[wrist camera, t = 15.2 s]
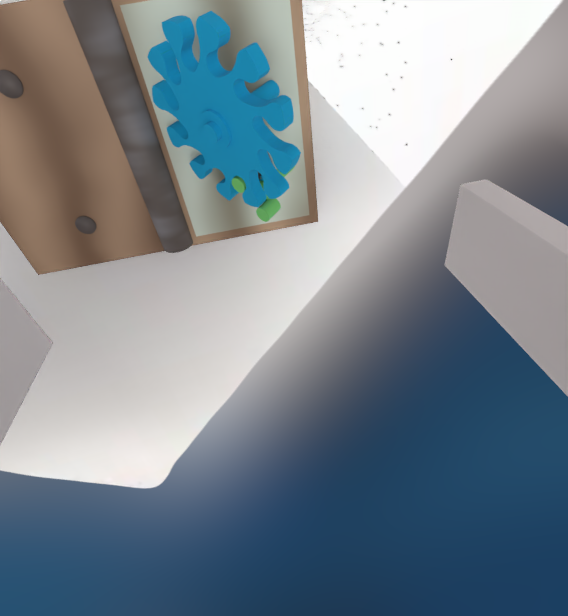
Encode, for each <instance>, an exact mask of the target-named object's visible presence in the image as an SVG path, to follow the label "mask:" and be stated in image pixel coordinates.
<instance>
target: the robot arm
mask: <svg viewBox="0 0 568 616" xmlns="http://www.w3.org/2000/svg"><path fill="white" fill-rule="evenodd" d="M445 266H446V267H447V268H448V269H449V270H450V272H452V274H453V275H454V276H455V277H456V278H457V279H458V280H459V281H460V282H461V283H462V284H463V285H464V286H465V287H466V289H467V290H468V291H469V292H470V293H471V294H472V295H473V296H474V297H475V298H476V299H477V300H478V301H479V302H480V303H481V304H482V305H483V306H484V308H485V309H486V310H487V311H488V312H489V313H490V314H491V315H492V316H493V317H494V318H495V319H496V320H497V321H498V323H499V324H500V325H501V326H502V327H503V328H504V329H505V330H506V331H507V332H508V333H509V334H510V335H511V336H512V337H513V339H514V340H516V342H517V343H518V344H519V345H520V346H521V347H522V348H523V349H524V350H525V351H526V352H527V353H528V354H529V356H531V358H532V359H533V360H534V361H535V362H536V363H537V364H538V365H539V366H540V367H541V368H542V369H543V370H544V371H545V373H546V374H547V375H548V376H549V377H550V378H551V379H552V380H553V381H554V382H555V383H556V384H557V385H558V386H559V387H560V388H561V390H562V391H563V392H564V393H565V394H566V395H567V396H568V226H566V225H564V224H563V223H561V222H559V221H558V220H556V219H554V218H552V217H550V216H549V215H547V214H545V213H544V212H542V211H540V210H539V209H537V208H535V207H533V206H532V205H530V204H528V203H527V202H525V201H523V200H521V199H520V198H518V197H516V196H514V195H513V194H511V193H509V192H508V191H506V190H504V189H502V188H501V187H499V186H497V185H496V184H494V183H492V182H490V181H489V180H481V181H475V182H470V183H465V184H461V185H460V190H459V195H458V200H457V206H456V210H455V215H454V220H453V225H452V230H451V236H450V240H449V245H448V251H447V256H446V261H445ZM51 345H52V341H51V340H50V339H49V338H48V336H47V335H46V334H45V333H44V332H43V330H42V329H41V328H40V327H39V325H38V324H37V323H36V322H35V320H34V319H33V318H32V317H31V315H30V314H29V313H28V312H27V311H26V309H25V308H24V307H23V306H22V304H21V303H20V302H19V301H18V299H17V298H16V297H15V296H14V294H13V293H12V292H11V291H10V289H9V288H8V287H7V286H6V285H5V283H4V282H3V281H2V280H1V278H0V445H1V443H2V441H3V439H4V437H5V435H6V433H7V431H8V429H9V427H10V425H11V423H12V421H13V420H14V418H15V416H16V414H17V412H18V410H19V408H20V406H21V404H22V402H23V400H24V398H25V396H26V394H27V392H28V390H29V388H30V386H31V384H32V382H33V380H34V378H35V377H36V375H37V373H38V371H39V369H40V367H41V365H42V363H43V361H44V359H45V357H46V355H47V353H48V351H49V349H50V347H51Z"/></svg>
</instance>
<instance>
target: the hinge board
mask: <svg viewBox="0 0 568 616" xmlns="http://www.w3.org/2000/svg"><path fill="white" fill-rule="evenodd" d="M209 11H212V12H214V13H215V14H217V15H218V16H220V17H221V18H222V19H223V20H224V21H225V22H226V23H227V24H228V26H229V27H230V34H231V35H230V40H229V42H228V43H227V44H225V45H224V46H222V47H220V48H219V49H218V59H219V62H220V64H221V66H222V67H223V68H224V69H225V70H227V71H231V70H232V69H233V67H234V65H235V62H236V57H237V54H238V52H239V51H240V50H242V49H243V48H245V47H247V46H248V45H250V44H252V43H258V45H259V46H260V48H261V49H262V51H263V53H264V55H265V57H266V59H267V61H268V64H269V67H270V70H269V72H268V74H267V75H265V76H264V77H262V78H261V79H259V80H258V81H256V82H255V83H249V82H246V81H244V82H245V86H246V88H247V90H248V91H249V92H250V93H251V92H253V91H254V90H256V89H257V88H259V87H260V86H262V85H263V84H265V83H266V82H267V81H269V80H274V81H275V82H276V83H277V84H278V86H279V89H280V93H279V96H280V95H286V96H288V97H289V98H291V101H292V106H293V112H294V119H293V123H292V124H291V125H289V126H288V127H287V128H286V129H285V130H283V131H276V130H274V129H273V128H272V127H271V126H270V125H269V124H268V123H267V121H266V120H265V119H264V118H263V117H262V118H263V121H264V123H265V124H266V126H267V127H268V128H269V129H270V130H271V132H272V133H273V134H274V135H275V136H277V137H278V138H279V139H281V140H282V141H284V142H287V143H290V144H293V145H295V146H296V147H297V148H298V149H299V150H300V152H301V154H300V158H299V160H298V162H297V164H296V165H295V168H294V169H293V170H292V171H291V172H289V173H288V174H287V175H286V176H285V177H284V178H285V179H286V180H287V182H288V184H289V189H288V190H287V191H286V192H285V193H284V194H282V195H281V196H280V197H278V198H276V199H277V200H278V201H279V203H280V205H281V208H280V210H279V211H278V212H277V213H276V214H275V215H274V216H273V217H272V218H271V219H270V220H269V221H267V222H264V221H262V220H261V219H260V218H259V217H258V216H257V213H256V210H257V208H258V207H253V206H250V205H248V204H246V203H245V202H244V200H243V197H242V195H243V193H238V194H237V195H236V196H235V197H233V198H232V199H231V200H230V201H229V200H227V199H226V198H225V197H223V196H222V195H221V194H220V193H219V192H218V191H217V189H216V185H217V184H218V183H219V182H220V181H222V180H223V179H224V178H225V176H224V174H223V173H222V172H221V171H220V170H219V169H217V168H213V170H212V172H211V173H210V174H209V175H207V176H206V177H205V178H203V179H199V178H198V176H197V175H196V174H195V172H194V171H193V170H192V168H191V166H190V164H189V163H190V161H192V160H193V159H194V158H196V157H197V156H198V155H202V154H201V153H200V152H199V151H198V150H196V149H194V148H193V147H190V146H187V145H183V146H181V147H179V148H178V147H175V146H174V145H173V144H172V142H171V140H170V138H169V135H168V132H167V127H168V126H170V125H171V124H173V123H175V122H176V121H179V120H178V119H177V118H176V117H175V116H173V115H172V114H171V113H169V112H167V111H165V110H162V109H160V108H158V107H157V106H156V105H155V103H154V102H153V96H152V87H153V85H155V84H157V83H158V82H160V81H162V80H165V79H164V78H163V77H162V76H161V74H160V73H158V72H157V71H156V70H155V69H154V68H153V67H152V65H151V64H150V62H149V60H148V57H147V56H148V54H149V51H150V49H151V48H152V47H154V46H156V45H158V44H160V43H162V42H164V41H167V39H166V37H165V35H164V32H163V28H162V22H164V21H166V20H168V19H170V18H172V17H175V16H180V15H183V16H187V17H189V18H190V19H191V21H192V23H193V26H194V30H195V38H194V42H193V45H192V51H193V55H194V57H195V59H196V60H197V62H198V63H199V58H200V45H199V39H198V35H197V31H196V21H197V18H198V17H199V16H201V15H203V14H205V13H207V12H209ZM176 60H177V59H176ZM177 65H178V62H177ZM178 69H179V65H178ZM179 71H180V70H179ZM165 81H166V80H165ZM268 153H269V152H268ZM269 155H270V153H269ZM270 158H271V160H272V163H273V165H274V167H275V168H276V166H275V164H274V162H273V159H272V157H271V155H270ZM276 169H277V168H276ZM261 205H262V204H261ZM261 205H260V206H261ZM260 206H259V207H260ZM0 222H1V223H2V225H3V226H4V227H5V229H6V230H7V232H8V233H9V234H10V236H11V237H12V239H13V240H14V241H15V243H16V244H17V246H18V247H19V248H20V250H21V251H22V253H23V254H24V255H25V257H26V258H27V260H28V261H29V262H30V264H31V265H32V267H33V268H34V269H35V271H36V272H37V274H38V275H40V274H45V273H50V272H56V271H61V270H66V269H71V268H77V267H82V266H87V265H92V264H98V263H103V262H108V261H113V260H119V259H124V258H129V257H134V256H140V255H145V254H150V253H155V252H161V251H166V252H170V253H175V252H180V251H183V250H185V249H187V248H189V247H190V246H192V245H197V244H203V243H208V242H213V241H218V240H224V239H229V238H234V237H239V236H245V235H250V234H255V233H260V232H266V231H271V230H276V229H281V228H287V227H292V226H297V225H302V224H308V223H313V222H318V213H317V200H316V186H315V173H314V159H313V146H312V132H311V119H310V105H309V92H308V78H307V65H306V51H305V38H304V24H303V11H302V0H26V1H20V2H14V3H8V4H2V5H0Z"/></svg>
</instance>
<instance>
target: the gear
mask: <svg viewBox="0 0 568 616" xmlns="http://www.w3.org/2000/svg"><path fill="white" fill-rule="evenodd" d="M162 28H163V32H164V35H165V37H166V39H167V41H164V42H162V43H160V44H158V45H156V46H154V47H152V48H151V49H150V51H149V54H148V56H147V57H148V60H149V62H150V64H151V65H152V67H153V68H154V69H155V70H156V71H157V72H158V73H160V74H161V76H162V77H163V78H164V79H165V80H166V81H165V80H162V81H160V82H158V83H157V84H155V85H153V87H152V96H153V102H154V103H155V105H156V106H157V107H158V108H160V109H162V110H165V111H167V112H169V113H171V114H172V115H173V116H175V117H176V118H177V119H178V120H179V121H176V122H175V123H173V124H171V125H170V126H168V127H167V132H168V135H169V138H170V140H171V142H172V144H173V145H174V146H175V147H178V148H179V147H181V146H183V145H187V146H190V147H193V148H194V149H196V150H198V151H199V152H200V153H201V154H202V155H198V156H197V157H196V158H194V159H193V160H192V161H190V163H189V164H190V166H191V168H192V170H193V171H194V172H195V174H196V175H197V176H198V178H199V179H203V178H205V177H206V176H207V175H209V174H210V173H211V172H212V170H213V168H217V169H219V170H220V171H221V172H222V173H223V174H224V176H225V178H224V179H223V180H222V181H220V182H219V183H218V184H217V185H216V189H217V191H218V192H219V193H220V194H221V195H222V196H223V197H225V198H226V199H227V200H229V201H230V200H231V199H232V198H233V197H235V196H236V195H237V194H238V193H243V195H242V197H243V200H244V202H245V203H246V204H248V205H250V206H253V207H258V208H257V210H256V213H257V216H258V217H259V218H260V219H261V220H262V221H264V222H267V221H269V220H270V219H271V218H272V217H273V216H274V215H275V214H276V213H277V212H278V211H279V210H280V208H281V205H280V203H279V201H278V200H277V199H276V198H278V197H280V196H281V195H282V194H284V193H285V192H286V191H287V190H288V189H289V184H288V182H287V180H286V179H285V178H284V177H285V176H286V175H287V174H288V173H289V172H291V171H292V170H293V169H294V168H295V165H296V164H297V162H298V160H299V158H300V154H301V152H300V150H299V149H298V148H297V147H296V146H295V145H293V144H290V143H287V142H284V141H282V140H281V139H279V138H278V137H277V136H275V135H274V134H273V133H272V132H271V130H270V129H269V128H268V127H267V126H266V124H265V123H264V121H263V118H264V119H265V120H266V121H267V123H268V124H269V125H270V126H271V127H272V128H273V129H274V130H276V131H283V130H285V129H286V128H287V127H288V126H289V125H291V124H292V123H293V119H294V112H293V106H292V101H291V98H289V97H288V96H286V95H280V96H279V93H280V89H279V86H278V84H277V83H276V82H275V81H274V80H269V81H267V82H266V83H265V84H263V85H262V86H260V87H259V88H257V89H256V90H254V91H253V92H251V93H250V92H249V91H248V90H247V88H246V86H245V82H244V81H246V82H249V83H255V82H256V81H258V80H259V79H261V78H262V77H264V76H265V75H267V74H268V72H269V70H270V67H269V64H268V61H267V59H266V57H265V55H264V53H263V51H262V49H261V48H260V46H259V45H258V43H252V44H250V45H248V46H247V47H245V48H243V49H242V50H240V51H239V52H238V54H237V57H236V62H235V65H234V67H233V69H232V70H231V71H227V70H225V69H224V68H223V67H222V66H221V64H220V62H219V59H218V49H219V48H220V47H222V46H224V45H225V44H227V43H228V42H229V40H230V35H231V34H230V27H229V26H228V24H227V23H226V22H225V21H224V20H223V19H222V18H221V17H220V16H218V15H217V14H215V13H214V12H212V11H209V12H207V13H205V14H203V15H201V16H199V17H198V18H197V21H196V31H197V35H198V39H199V45H200V58H199V63H198V62H197V60H196V59H195V57H194V55H193V51H192V45H193V42H194V38H195V30H194V26H193V23H192V21H191V19H190V18H189V17H187V16H183V15H180V16H175V17H172V18H170V19H168V20H166V21H164V22H162ZM176 59H177V60H176ZM177 62H178V65H179V69H178V65H177ZM179 70H180V71H179ZM262 117H263V118H262ZM268 152H269V153H270V155H271V157H272V159H273V162H274V164H275V166H276V168H277V169H276V168H275V167H274V165H273V163H272V160H271V158H270V155H269V153H268ZM261 204H262V205H261ZM260 205H261V206H260ZM259 206H260V207H259Z"/></svg>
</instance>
